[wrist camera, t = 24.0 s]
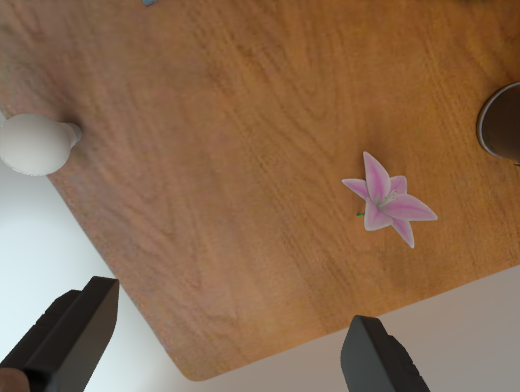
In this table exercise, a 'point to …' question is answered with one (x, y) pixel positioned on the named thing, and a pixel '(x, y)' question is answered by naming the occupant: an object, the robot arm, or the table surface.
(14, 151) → the lightbulb
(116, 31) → the table surface
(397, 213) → the lily
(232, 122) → the table surface
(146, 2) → the mat
